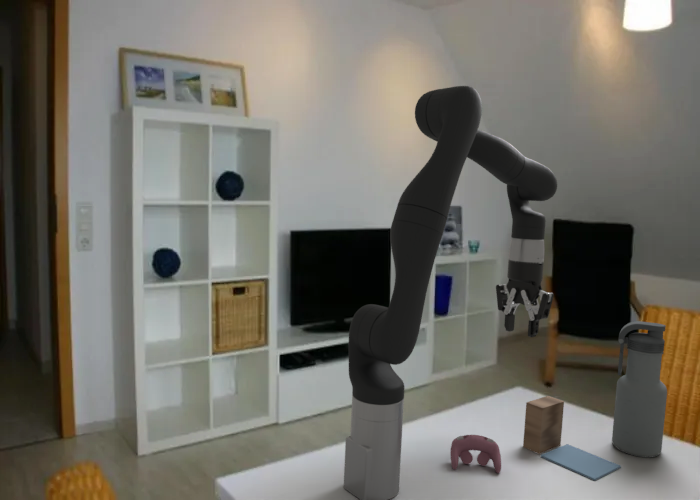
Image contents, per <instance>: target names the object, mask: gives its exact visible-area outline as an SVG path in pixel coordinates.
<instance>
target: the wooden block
mask: <svg viewBox="0 0 700 500" xmlns="http://www.w3.org/2000/svg"><path fill="white" fill-rule="evenodd" d="M525 404H526V405H525V414H524V415H525V418H524V431H523V443H522V448H524V449H527V450H529V451H531V452H533V453H536V454H538V455H542V454H544V453H546V452H549V451H551V450H554V449H556V448H559V447H561V443H562V431H563V419H564V407H565V406H564V405H565V400H561V399H559V398H555V397H553V396H550V395H546V396H543V397H539V398H536V399H533V400H530V401H527V402H525Z"/></svg>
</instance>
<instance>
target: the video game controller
mask: <svg viewBox="0 0 700 500" xmlns="http://www.w3.org/2000/svg"><path fill="white" fill-rule="evenodd" d="M471 451H478V452H479V453H478V455H477V457H476V461H477V464H478V465H480V466H482V467H483V466H487V465H488V464H489V462H490V460H491V461H492V464H493V467H494V471H495V473H496V474H500V473H501V471H502V456H501V455H502V454H501V451H500V447H499V445H498V443H497V442H496V441H494V439H492V438H490V437H487V436H483V435H478V434H464V435H460V436H458V437H456V438H454V439H453V440H452V442H451V446H450V464H451V467H452V469H453V470H455V471H456V470H457V469H458V465H459V462H460V461H459V460H461V463H463V464H464V465H470V464H471V463H473V460H474V456H473V455H472V453H471ZM459 458H460V459H459Z"/></svg>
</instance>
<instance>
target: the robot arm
mask: <svg viewBox="0 0 700 500" xmlns="http://www.w3.org/2000/svg"><path fill="white" fill-rule="evenodd" d="M482 102H483V101H482V99H481V96H480V94H479V92H478V91H477V89H476V88H474V87H472V86H470V85H469V86H468V85H457V86H456V85H455V86H451V87H445V88H444V87H443V88H437V89H434V90H429V91H427V92H425V93H424V94H422V95H421V96H420V97H419V99H418V100H417V101H416V104H415V108H414V119H415V122H416V126H417V128H418V130H420V132H421V133H422V134H423V135H424V136H426V137H427V138H429V139H430V140H433V141H436V142H437V143H436V146H435V149H434V150H433V153H431V156H430V157H429V160H428V161H427V162H426V163H425V164H424V166H423V167H422V168H421V169H420V170H419V172H417V174H416V175H415V177H414V178H412V179H411V181H410V182H409V184H408V185H407V186H406V187H405V189H404V190H403V192H402V194H401V195H400V198H399V200H398V203H397V205H396V210H395V212H394V215H393V219H392V222H391V226H390V231H389V241H390V248H391V253H392V258H393V264H394V272H395V278H394V286H393V291H392V294H391V295H392V296H391V299H390V300H389V301H390V302H389V303H388V304H389V305H388V307H387V306H384V305H379V304H373V303H370V304H365V305H363V306H361V307H360V308H358V309H357V311H355V313H354V315H353V316H352V319H351V322H350V325H349V329H348V330H349V331H348V376H349V377H348V378H349V380H350V381H349V382H350V384H351V389H352V394H351V396H352V397H351V398H352V399H351V416H350V434H349V436H347V437H346V438H345V445H344V446H345V447H344V469H343V472H344V475H343V488H344V489H345V490H346V491H347V492H349V493H351V495H353V496H355V497H356V498H357V499H359V500H390V499H393V498H395V497H396V496H397V495H398V494H399V492H400V477H401V476H400V475H401V458H402V442H403V438H402V437H403V423H404V422H403V421H404V405H405V404H404V403H405V383H404V380H402V378H401V377H400V376H399V375H398V374H397V373H396V371H395V370H394V368H393V367H392V365H394V366H396V365H401V364H403V363H405V361H407V359H409V357H410V356H411V355H412V353H413V351H414V349H415V346H416V344H417V341H418V338H419V334H420V329H421V324H422V323H421V322H422V318H423V317H422V316H423V312H424V306H425V303H426V302H425V301H426V296H427V292H428V288H429V284H430V278H431V275H432V272H433V267H434V264H435V260H436V257H437V252H438V250H439V246H440V244H441V241H442V238H443V234H444V232H445V231H444V230H445V229H446V224H447V220H448V217H449V213H450V209H451V205H452V201H453V199H454V195H455V192H456V190H457V186H458V183H459V179H460V176H461V173H462V170H463V168H464V166H465V163H466V160H467V158H468V159H470V160H471V161H472V162H474V163H476V164H477V165H479V166H480V167H481V168H484V169H485V170H486V171H487V172H488V173H490V174H491V175H492V176H493V177H495V178H496V179H497V180H499V181H500V182H501V183H503V184H505V185H506V194H507V197H508V198H507V199H508V204H509V208H510V209H509V210H510V212H511V213H510V214H511V218H512V219H511V220H512V221H511V223H512V224H511V238H510V243H509V248H508V259H507V260H508V264H507V278H508V281H507V283H502V284H496V285H495V293H496V303H497V309H498V311H501V312H503V313H504V324H503V325H504V328H505V331H507V332H513V331H514V330H515V320H516V319H515V318H516V315H515V313H516V310H517V308H518V307H519V306H520V304H521V305H523V306H524V307H525V310H526V311H527V314H528V317H529V320H528V326H527V336H528V337H529V338H535V337H536V336H537V335H538V333H539V325H540V320H544V319H548V318H549V314H550V311H551V307H552V303H553V301H554V293H553V292H547V291H545V290H543V288H542V281H543V279H544V278H543V276H544V266H545V265H544V264H545V262H544V261H545V251H546V250H545V234H546V233H545V232H546V222H547V221H546V216H545V215H544V214H543V213H541V212H539V211H535V210H533V209H532V207H531V205H530V203H529V202H530V201H531V202H532V201H533V202H534V201H535V202H545V201H547V200H551V198H553V197H554V195H555V194H556V192H557V191H558V190H557V189H558V180H557V178H556V175H555V173H554V172H553V171H552V170H551V169H550V167H548V166H546V165H544V164H542V163H540V162H538V161H535V160H534V159H531V158H528V157H526V156H525V155H524V154H523V153H522V152H520V151H519V150H518V149H517V148H516V147H515V146H513V145H512V144H511V143H510V142H508V141H507V140H505V139H504V138H502V137H499V136H497V135H493V134H492V133H489V132H487V131H485V130H482V129H480V128H479V127H480V124H481V121H482V120H481V119H482V115H483V114H482V113H483V104H482ZM508 294H509V296H508ZM538 298H539V300H540V302H539V300H538Z"/></svg>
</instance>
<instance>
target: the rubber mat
mask: <svg viewBox="0 0 700 500" xmlns="http://www.w3.org/2000/svg"><path fill="white" fill-rule="evenodd" d="M540 458H542V459H545V460H546V461H550V462H551V463H553V464H556V465H557V466H560V467H563V468H565V469H567V470H570V471H572V472H573V473H576V474H578V475H581V476H582V477H586V478H587V479H590V480H592V481H593V482H594V481H598V480H599V479H601V478H603V477H605V476H607V475H609V474H611V473H613V472H615V471H617V470H619V469H621V468H622V465H621V464H618V463H617V462H616V463H615V462H612V461H610V460H608V459H606V458H604V457H601V456H597V455H596V454H593V453H591V452H588V451H586V450H583V449H580V448H579V447H575V446H573V445H570V444H569V443H566V444H564V445H562V446H561V445H560V446H558V447H555V448H553V449H551V450H548V451H546V452H543V453H541V454H540Z"/></svg>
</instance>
